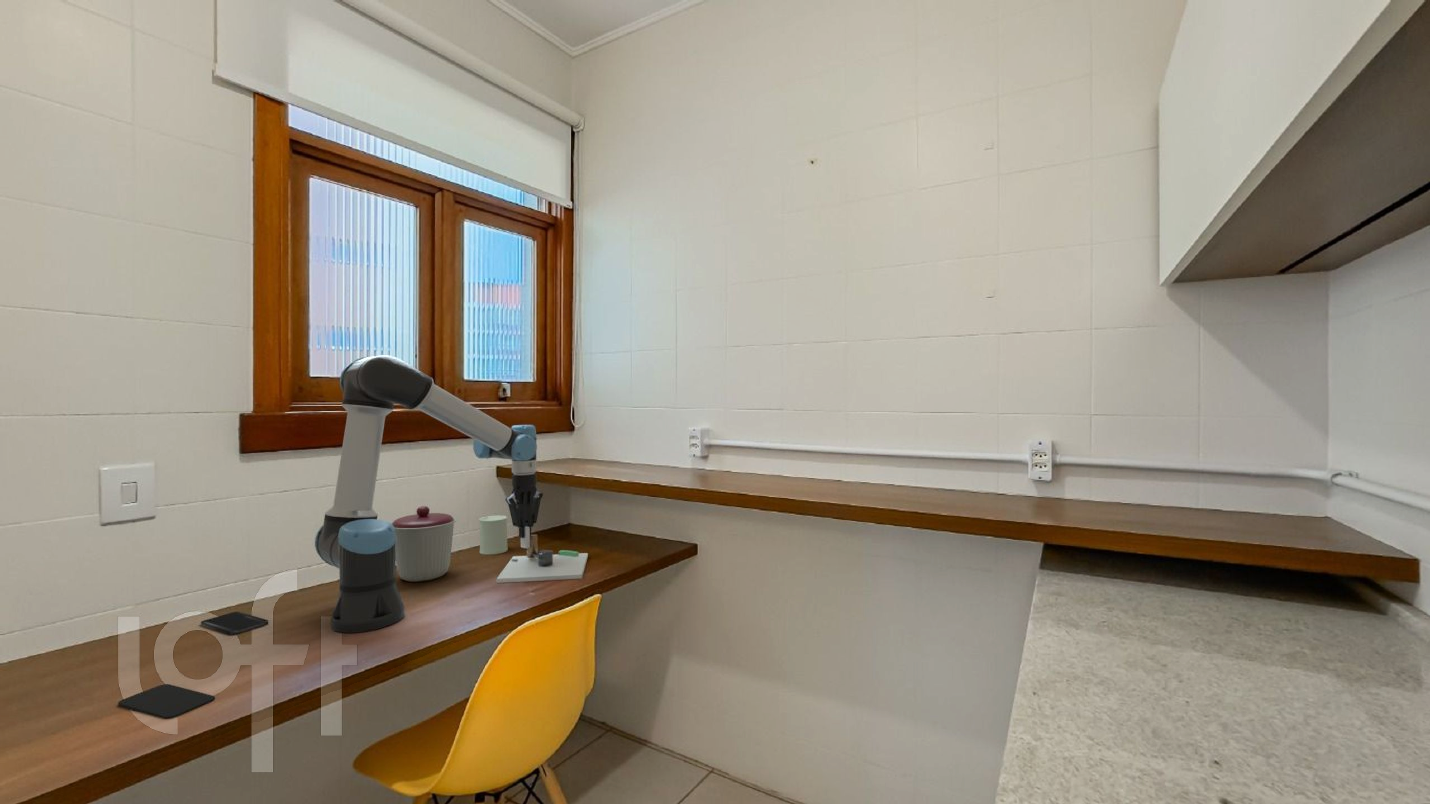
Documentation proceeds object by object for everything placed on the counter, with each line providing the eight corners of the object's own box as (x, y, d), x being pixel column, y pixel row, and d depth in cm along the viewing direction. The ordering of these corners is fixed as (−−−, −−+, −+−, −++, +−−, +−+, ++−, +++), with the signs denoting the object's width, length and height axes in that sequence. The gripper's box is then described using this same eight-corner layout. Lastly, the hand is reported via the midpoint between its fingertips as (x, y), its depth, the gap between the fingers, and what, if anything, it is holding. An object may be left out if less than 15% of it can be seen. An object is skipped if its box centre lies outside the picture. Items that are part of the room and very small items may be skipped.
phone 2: (232, 632, 134) (198, 621, 141) (232, 637, 134) (198, 626, 141) (270, 620, 141) (237, 610, 148) (271, 625, 141) (237, 615, 148)
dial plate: (496, 582, 170) (496, 574, 170) (513, 559, 195) (513, 552, 195) (581, 578, 174) (581, 570, 174) (588, 556, 198) (587, 548, 198)
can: (478, 549, 208) (478, 515, 208) (506, 546, 212) (505, 513, 212) (480, 555, 200) (479, 520, 199) (509, 552, 204) (508, 517, 203)
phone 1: (168, 718, 99) (114, 702, 104) (168, 723, 99) (114, 707, 104) (218, 696, 106) (165, 682, 111) (218, 701, 106) (165, 687, 111)
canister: (382, 576, 178) (381, 506, 178) (446, 564, 190) (445, 498, 190) (398, 590, 164) (397, 515, 164) (465, 577, 176) (464, 506, 176)
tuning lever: (555, 564, 184) (555, 540, 184) (542, 566, 181) (541, 543, 181) (534, 555, 194) (534, 533, 194) (521, 557, 191) (521, 535, 191)
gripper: (514, 476, 181) (515, 553, 181) (548, 471, 192) (549, 544, 192) (499, 474, 186) (500, 550, 186) (533, 470, 196) (534, 541, 196)
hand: (525, 547), depth 189 cm, fingers closed
